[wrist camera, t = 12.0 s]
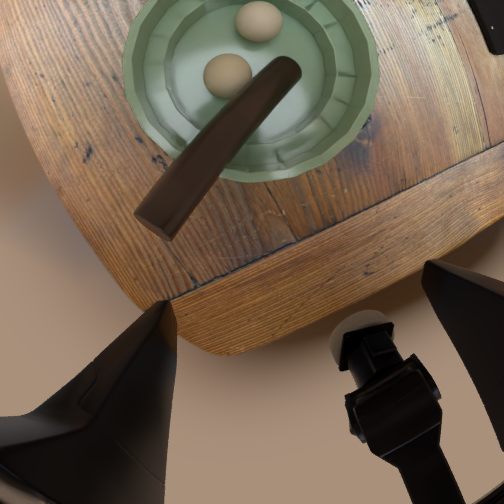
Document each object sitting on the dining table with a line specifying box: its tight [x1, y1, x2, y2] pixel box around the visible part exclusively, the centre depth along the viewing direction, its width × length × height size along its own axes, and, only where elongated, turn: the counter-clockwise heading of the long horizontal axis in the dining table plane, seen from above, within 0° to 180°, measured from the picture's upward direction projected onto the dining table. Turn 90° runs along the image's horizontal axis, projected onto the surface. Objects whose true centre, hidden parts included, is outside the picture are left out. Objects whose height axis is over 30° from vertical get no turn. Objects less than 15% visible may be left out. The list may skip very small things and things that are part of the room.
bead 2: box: [235, 1, 283, 42], centre depth 14 cm, size 3×3×3 cm
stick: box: [134, 56, 302, 242], centre depth 14 cm, size 2×2×13 cm
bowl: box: [122, 0, 380, 183], centre depth 15 cm, size 14×14×5 cm
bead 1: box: [203, 53, 252, 98], centre depth 15 cm, size 3×3×3 cm
